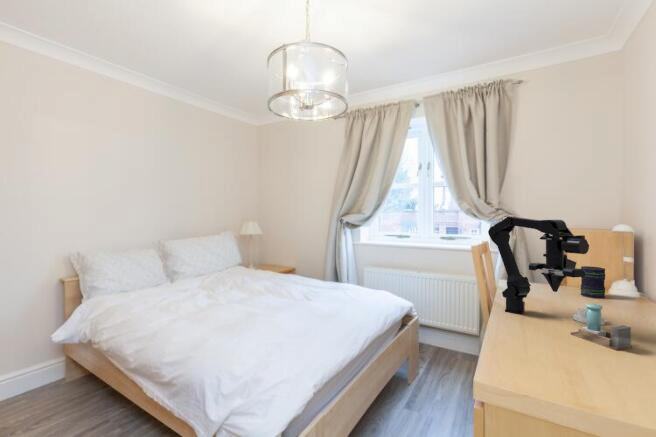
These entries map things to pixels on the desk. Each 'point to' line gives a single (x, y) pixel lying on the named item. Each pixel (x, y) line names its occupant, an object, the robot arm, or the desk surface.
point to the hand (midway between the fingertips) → (555, 291)
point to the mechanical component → (584, 316)
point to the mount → (609, 337)
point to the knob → (594, 320)
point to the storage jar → (593, 282)
